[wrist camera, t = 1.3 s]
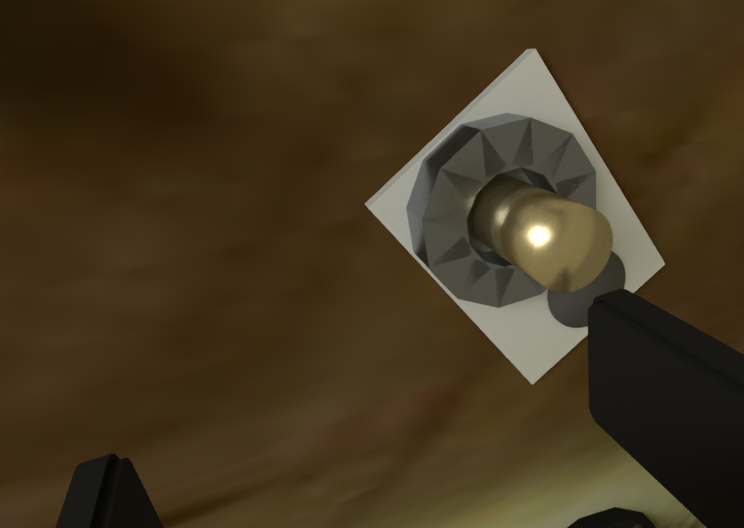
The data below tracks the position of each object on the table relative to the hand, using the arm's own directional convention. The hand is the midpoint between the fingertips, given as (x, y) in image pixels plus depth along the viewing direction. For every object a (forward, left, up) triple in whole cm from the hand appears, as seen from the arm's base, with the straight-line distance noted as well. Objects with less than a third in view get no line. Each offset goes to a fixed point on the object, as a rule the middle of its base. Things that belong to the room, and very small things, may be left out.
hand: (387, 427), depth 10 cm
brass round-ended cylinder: (-10, +13, -25) cm, 29 cm away
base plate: (-11, +17, -26) cm, 33 cm away
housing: (-10, +13, -25) cm, 29 cm away
